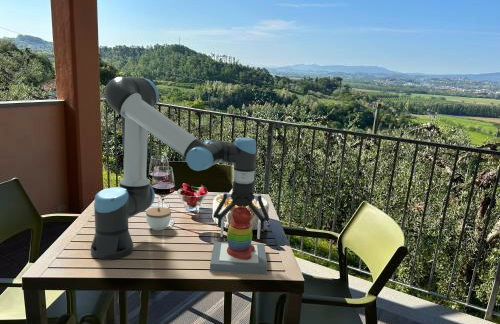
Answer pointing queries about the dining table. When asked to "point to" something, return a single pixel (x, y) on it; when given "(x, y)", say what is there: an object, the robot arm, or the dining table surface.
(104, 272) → the dining table surface
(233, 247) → the stacking bear
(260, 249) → the slate plinth
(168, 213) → the lidded jar
